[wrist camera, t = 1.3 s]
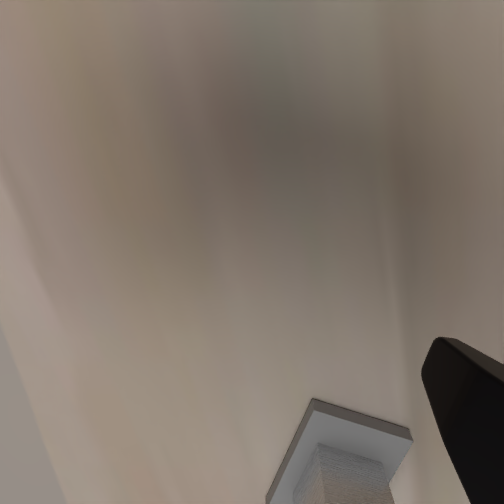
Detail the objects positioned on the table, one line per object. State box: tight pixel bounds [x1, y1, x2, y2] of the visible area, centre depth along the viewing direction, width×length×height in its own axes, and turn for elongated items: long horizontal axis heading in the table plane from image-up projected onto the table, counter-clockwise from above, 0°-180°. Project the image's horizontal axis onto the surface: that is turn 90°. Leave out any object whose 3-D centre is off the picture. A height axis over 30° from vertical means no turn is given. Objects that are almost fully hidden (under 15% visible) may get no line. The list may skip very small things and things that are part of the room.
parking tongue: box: [266, 399, 413, 504], centre depth 27 cm, size 6×8×1 cm
